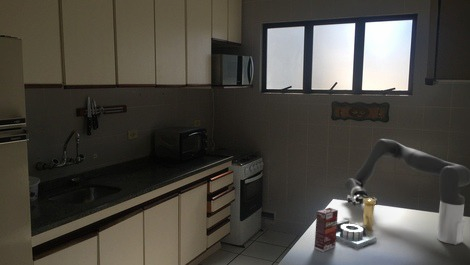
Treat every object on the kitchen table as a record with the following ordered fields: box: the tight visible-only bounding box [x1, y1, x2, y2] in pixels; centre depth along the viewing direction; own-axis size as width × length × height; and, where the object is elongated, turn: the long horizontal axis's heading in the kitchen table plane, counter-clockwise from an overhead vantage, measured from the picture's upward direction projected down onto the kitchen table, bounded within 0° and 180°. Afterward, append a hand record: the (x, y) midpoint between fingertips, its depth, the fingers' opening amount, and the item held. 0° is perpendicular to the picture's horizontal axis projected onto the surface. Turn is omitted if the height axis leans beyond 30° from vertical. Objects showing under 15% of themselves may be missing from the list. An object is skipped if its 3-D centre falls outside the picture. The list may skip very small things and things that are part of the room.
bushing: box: [362, 197, 376, 232], centre depth 188 cm, size 6×6×14 cm
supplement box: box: [313, 207, 339, 253], centre depth 165 cm, size 9×5×16 cm, turn 131°
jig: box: [336, 219, 377, 249], centre depth 176 cm, size 16×13×5 cm
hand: (364, 204), depth 199 cm, fingers open, 8 cm apart
